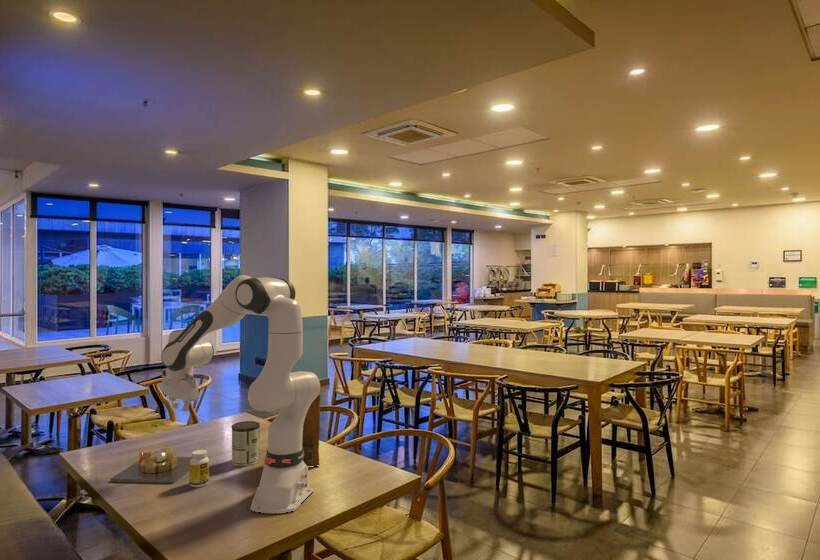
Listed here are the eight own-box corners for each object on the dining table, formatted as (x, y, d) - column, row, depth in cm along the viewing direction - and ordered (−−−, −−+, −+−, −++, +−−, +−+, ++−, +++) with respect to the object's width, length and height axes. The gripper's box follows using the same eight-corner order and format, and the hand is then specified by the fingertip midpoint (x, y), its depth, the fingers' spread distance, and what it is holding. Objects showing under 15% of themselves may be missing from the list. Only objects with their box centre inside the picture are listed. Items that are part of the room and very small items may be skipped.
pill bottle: (201, 488, 169) (202, 455, 169) (185, 487, 171) (185, 454, 170) (212, 481, 175) (212, 449, 175) (196, 479, 177) (196, 448, 177)
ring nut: (166, 473, 179) (166, 458, 179) (134, 472, 179) (134, 457, 179) (184, 459, 192) (184, 445, 192) (154, 459, 193) (154, 445, 193)
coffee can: (238, 456, 200) (238, 420, 200) (263, 457, 199) (263, 421, 199) (226, 465, 190) (226, 428, 190) (253, 466, 189) (253, 429, 189)
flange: (173, 483, 173) (173, 464, 173) (110, 482, 174) (110, 463, 174) (202, 460, 195) (202, 443, 195) (146, 459, 196) (146, 442, 196)
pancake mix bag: (314, 471, 185) (314, 395, 185) (277, 461, 195) (277, 388, 195) (326, 465, 191) (327, 391, 190) (290, 456, 201) (290, 385, 201)
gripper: (203, 374, 185) (203, 412, 185) (175, 368, 197) (175, 403, 198) (186, 377, 180) (186, 416, 180) (159, 370, 192) (158, 406, 193)
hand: (180, 409), depth 189 cm, fingers open, 6 cm apart
